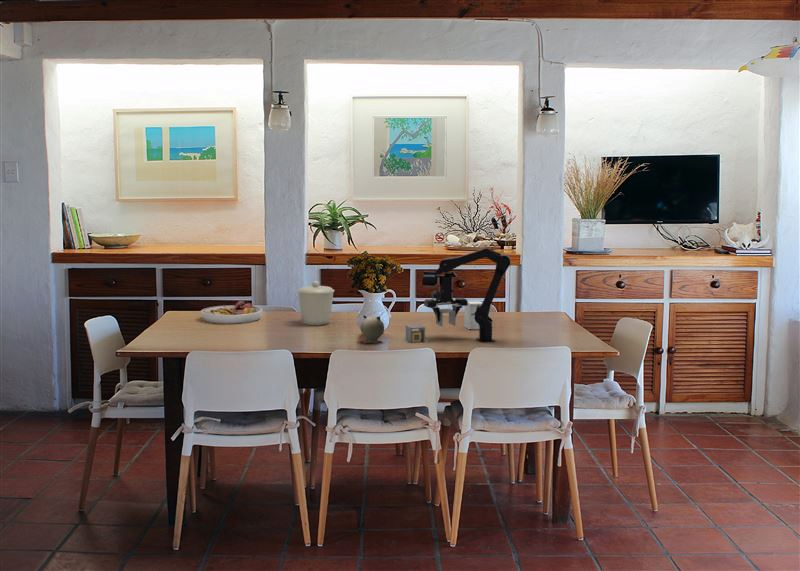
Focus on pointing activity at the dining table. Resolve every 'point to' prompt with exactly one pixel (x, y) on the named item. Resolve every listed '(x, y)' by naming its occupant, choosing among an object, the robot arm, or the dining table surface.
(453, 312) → the cover
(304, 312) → the canister
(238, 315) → the bowl
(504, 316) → the dining table surface
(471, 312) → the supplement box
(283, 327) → the dining table surface
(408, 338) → the cover
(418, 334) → the letter cube
